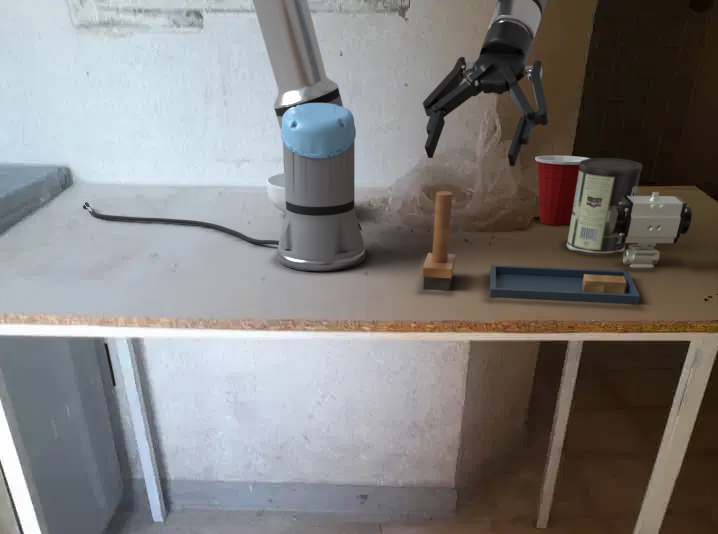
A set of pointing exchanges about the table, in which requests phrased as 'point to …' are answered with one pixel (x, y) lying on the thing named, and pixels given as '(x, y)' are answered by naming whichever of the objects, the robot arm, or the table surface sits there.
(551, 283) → the tray
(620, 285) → the small wooden block
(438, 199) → the brush
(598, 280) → the brown wooden block
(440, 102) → the robot arm
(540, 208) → the plastic cup
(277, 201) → the cereal bowl
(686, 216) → the pneumatic valve
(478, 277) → the table surface
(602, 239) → the coffee can
